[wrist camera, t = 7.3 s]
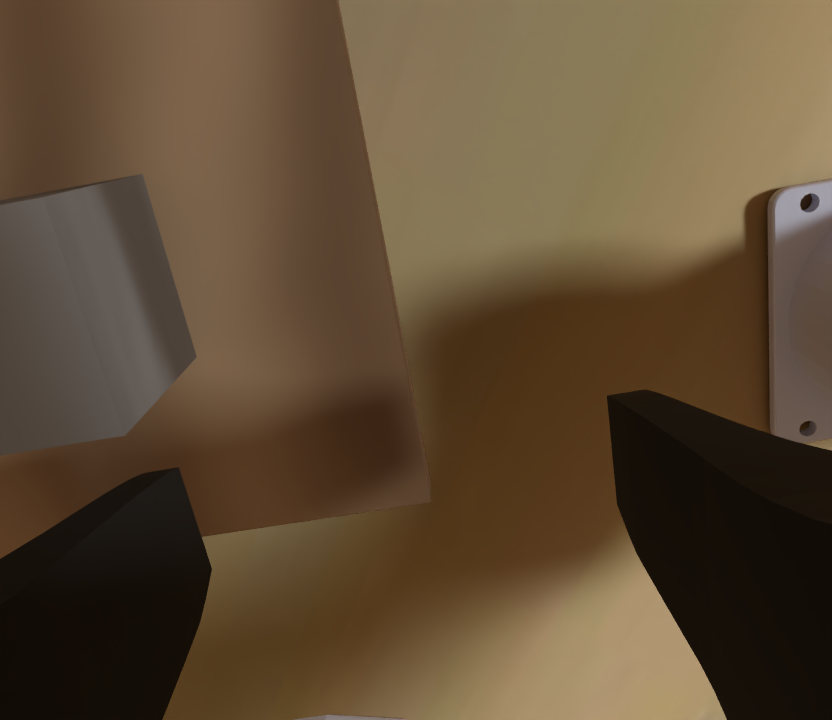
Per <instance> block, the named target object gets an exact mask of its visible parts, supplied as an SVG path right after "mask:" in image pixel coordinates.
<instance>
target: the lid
mask: <svg viewBox="0 0 832 720" xmlns="http://www.w3.org/2000/svg"><path fill="white" fill-rule="evenodd" d="M177 467H179V469H180V472H181V475H182V479H183V482H184V485H185V488H186V491H187V494H188V497H189V500H190V503H191V506H192V509H193V512H194V516H195V519H196V522H197V525H198V528H199V531H200V534H201V537H203V536H210V535H216V534H223V533H230V532H236V531H243V530H250V529H256V528H263V527H270V526H276V525H283V524H290V523H297V522H303V521H310V520H317V519H323V518H330V517H337V516H343V515H350V514H357V513H364V512H370V511H377V510H384V509H390V508H397V507H404V506H410V505H417V504H424V503H430V502H431V480H430V475H429V470H428V465H427V460H426V454H425V449H424V444H423V439H422V434H421V428H420V423H419V418H418V413H417V408H416V402H415V397H414V392H413V387H412V382H411V376H410V371H409V366H408V361H407V355H406V350H405V345H404V340H403V335H402V329H401V324H400V319H399V314H398V309H397V303H396V298H395V293H394V288H393V283H392V277H391V272H390V267H389V262H388V257H387V251H386V246H385V241H384V236H383V231H382V225H381V220H380V215H379V210H378V205H377V199H376V194H375V189H374V184H373V178H372V173H371V168H370V163H369V158H368V152H367V147H366V142H365V137H364V132H363V126H362V121H361V116H360V111H359V106H358V100H357V95H356V90H355V85H354V80H353V74H352V69H351V64H350V59H349V54H348V48H347V43H346V38H345V33H344V28H343V22H342V17H341V12H340V7H339V1H338V0H0V559H1V558H2V557H4V556H6V555H7V554H9V553H11V552H12V551H14V550H15V549H17V548H19V547H20V546H22V545H24V544H25V543H27V542H29V541H30V540H32V539H34V538H35V537H37V536H39V535H40V534H42V533H44V532H45V531H47V530H48V529H50V528H51V527H53V526H55V525H56V524H58V523H59V522H61V521H62V520H64V519H66V518H67V517H69V516H70V515H72V514H73V513H75V512H76V511H78V510H80V509H81V508H83V507H84V506H86V505H87V504H89V503H91V502H92V501H94V500H95V499H97V498H99V497H100V496H102V495H103V494H105V493H107V492H108V491H110V490H112V489H113V488H115V487H117V486H118V485H120V484H122V483H124V482H126V481H127V480H129V479H131V478H133V477H136V476H138V475H140V474H143V473H147V472H153V471H159V470H165V469H171V468H177Z"/></svg>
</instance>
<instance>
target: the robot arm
mask: <svg viewBox="0 0 832 720" xmlns="http://www.w3.org/2000/svg"><path fill="white" fill-rule="evenodd" d="M807 194H811V196H812V203H811V205H810V206H809V207H808V209H805V210H802V209H801V207H800V203H801V199H802V198H803V197H804V196H805V195H807ZM768 289H769V376H770V430H771V434H769V433H766V432H763V431H759V430H756V429H753V428H750V427H748V426H745V425H742V424H739V423H736V422H733V421H731V420H728V419H725V418H723V417H720V416H717V415H715V414H712V413H709V412H707V411H704V410H702V409H699V408H696V407H694V406H691V405H689V404H686V403H684V402H681V401H679V400H676V399H673V398H671V397H668V396H665V395H662V394H659V393H656V392H653V391H649V390H639V391H633V392H627V393H621V394H615V395H609V396H607V401H608V411H609V422H610V433H611V443H612V454H613V465H614V476H615V486H616V497H617V505H618V508H619V510H620V513H621V516H622V518H623V521H624V523H625V526H626V529H627V531H628V534H629V536H630V538H631V541H632V543H633V546H634V548H635V551H636V553H637V555H638V557H639V558H640V560H641V562H642V564H643V566H644V567H645V569H646V571H647V573H648V574H649V576H650V578H651V580H652V581H653V583H654V585H655V587H656V588H657V590H658V592H659V594H660V595H661V597H662V599H663V601H664V602H665V604H666V606H667V607H668V609H669V611H670V613H671V614H672V616H673V618H674V619H675V621H676V623H677V625H678V626H679V628H680V630H681V631H682V633H683V635H684V637H685V638H686V640H687V642H688V644H689V645H690V647H691V649H692V650H693V652H694V654H695V656H696V657H697V659H698V661H699V662H700V664H701V666H702V668H703V670H704V672H705V674H706V676H707V678H708V680H709V682H710V683H711V685H712V687H713V689H714V691H715V693H716V696H717V698H718V700H719V702H720V705H721V707H722V709H723V711H724V714H725V716H726V718H727V720H832V451H831V450H826V449H822V448H818V447H813V446H810V445H806V444H802V443H805V442H812V441H818V440H825V439H832V179H827V180H822V181H816V182H810V183H804V184H799V185H793V186H787V187H783V188H781V189H778V190H777V191H776V192H775V193H774V194H773V195H772V196H771V198H770V200H769V203H768ZM806 421H810V425H809V427H808V428H807V429H805V430H802V431H799V429H800V426H801V425H802V424H803V423H804V422H806ZM211 571H212V568H211V565H210V562H209V559H208V556H207V553H206V549H205V546H204V543H203V540H202V537H201V534H200V531H199V528H198V525H197V522H196V519H195V516H194V512H193V509H192V506H191V503H190V500H189V497H188V494H187V491H186V488H185V485H184V482H183V479H182V475H181V472H180V469H179V467H177V468H171V469H165V470H159V471H153V472H147V473H143V474H140V475H138V476H136V477H133V478H131V479H129V480H127V481H126V482H124V483H122V484H120V485H118V486H117V487H115V488H113V489H112V490H110V491H108V492H107V493H105V494H103V495H102V496H100V497H99V498H97V499H95V500H94V501H92V502H91V503H89V504H87V505H86V506H84V507H83V508H81V509H80V510H78V511H76V512H75V513H73V514H72V515H70V516H69V517H67V518H66V519H64V520H62V521H61V522H59V523H58V524H56V525H55V526H53V527H51V528H50V529H48V530H47V531H45V532H44V533H42V534H40V535H39V536H37V537H35V538H34V539H32V540H30V541H29V542H27V543H25V544H24V545H22V546H20V547H19V548H17V549H15V550H14V551H12V552H11V553H9V554H7V555H6V556H4V557H2V558H1V559H0V720H162V719H163V716H164V714H165V711H166V709H167V706H168V704H169V701H170V699H171V696H172V694H173V691H174V689H175V686H176V683H177V681H178V678H179V676H180V673H181V671H182V668H183V666H184V663H185V661H186V658H187V655H188V653H189V650H190V647H191V645H192V642H193V640H194V637H195V634H196V632H197V629H198V626H199V623H200V620H201V616H202V612H203V608H204V604H205V600H206V595H207V590H208V586H209V581H210V576H211ZM294 720H407V719H403V718H391V717H373V716H355V715H338V714H328V715H321V716H315V717H308V718H301V719H294Z"/></svg>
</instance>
